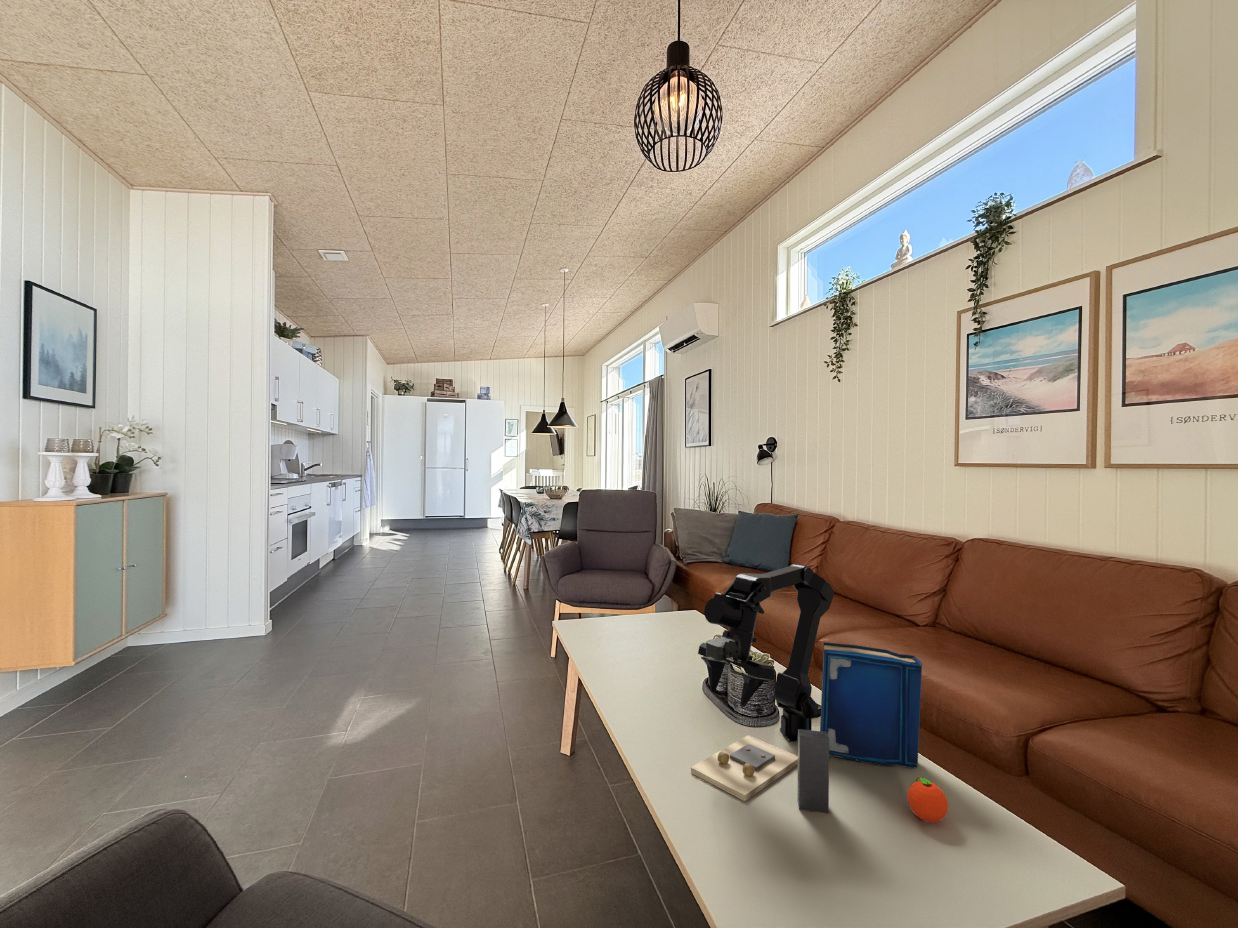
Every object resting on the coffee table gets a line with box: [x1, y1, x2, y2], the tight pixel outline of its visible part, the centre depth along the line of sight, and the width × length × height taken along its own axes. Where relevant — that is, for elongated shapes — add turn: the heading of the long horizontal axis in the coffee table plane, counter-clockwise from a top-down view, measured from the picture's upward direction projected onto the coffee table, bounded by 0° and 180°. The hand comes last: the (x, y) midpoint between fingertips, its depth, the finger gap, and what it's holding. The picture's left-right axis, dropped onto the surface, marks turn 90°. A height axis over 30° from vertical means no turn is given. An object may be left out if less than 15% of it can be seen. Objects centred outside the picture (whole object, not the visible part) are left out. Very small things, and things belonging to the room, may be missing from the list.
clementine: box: [906, 777, 949, 823], centre depth 108 cm, size 8×7×7 cm
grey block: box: [797, 729, 830, 815], centre depth 112 cm, size 6×6×14 cm
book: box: [819, 642, 923, 769], centre depth 130 cm, size 22×7×25 cm, turn 71°
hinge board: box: [690, 734, 798, 802], centre depth 125 cm, size 22×14×3 cm, turn 133°
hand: (727, 698), depth 126 cm, fingers open, 9 cm apart
